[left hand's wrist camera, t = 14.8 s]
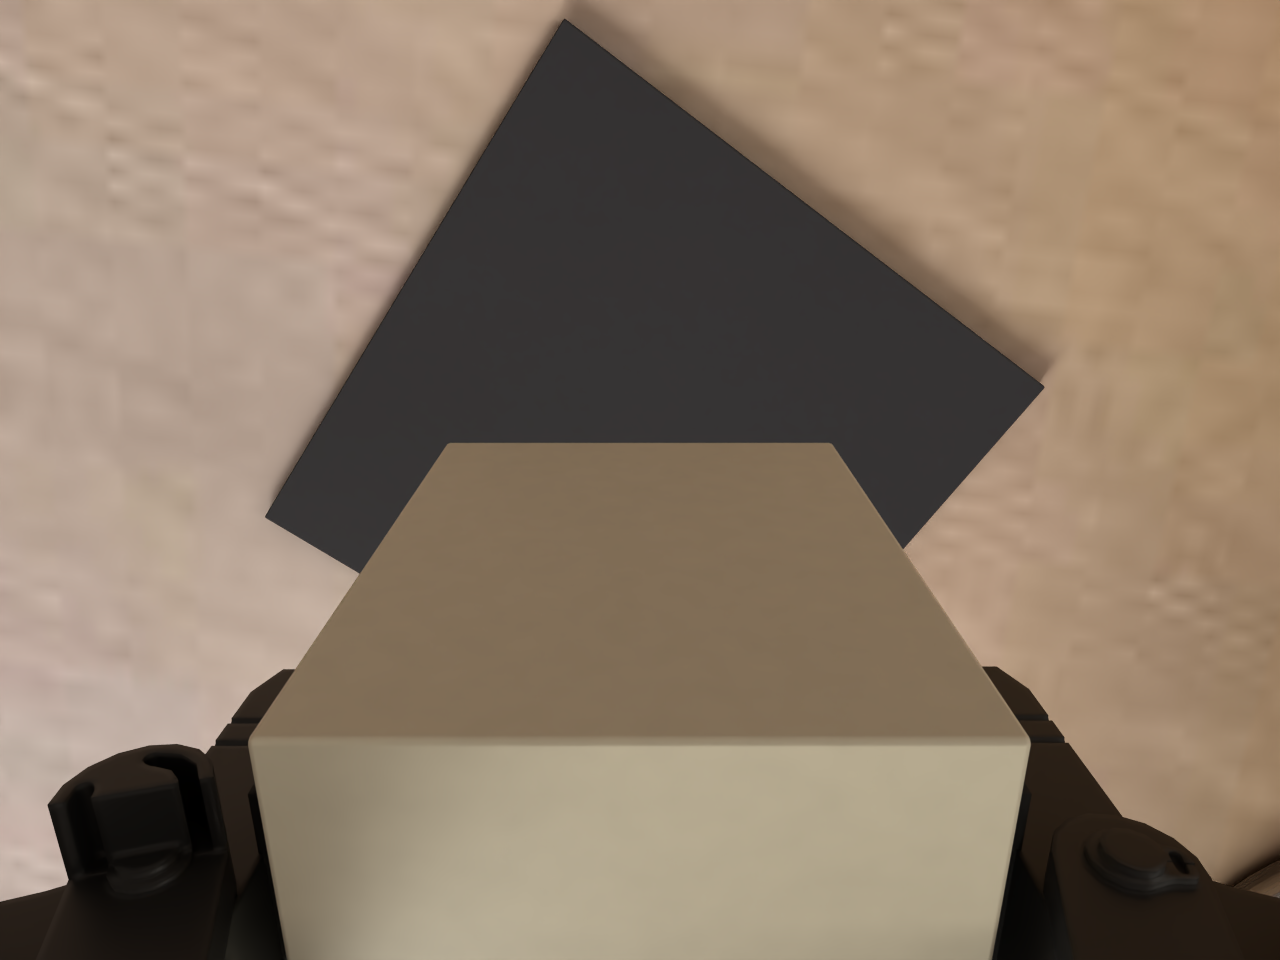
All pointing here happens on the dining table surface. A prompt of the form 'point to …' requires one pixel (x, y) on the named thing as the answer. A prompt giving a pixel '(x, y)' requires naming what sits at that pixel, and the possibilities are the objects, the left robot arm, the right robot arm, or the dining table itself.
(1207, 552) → the dining table surface
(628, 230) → the rubber mat
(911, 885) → the cap block
